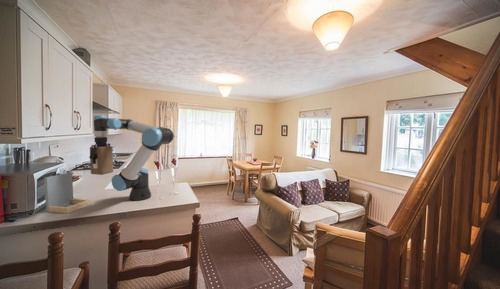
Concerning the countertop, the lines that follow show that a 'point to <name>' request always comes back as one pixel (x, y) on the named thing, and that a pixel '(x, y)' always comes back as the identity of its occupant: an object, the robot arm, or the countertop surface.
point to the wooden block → (103, 160)
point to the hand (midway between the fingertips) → (102, 166)
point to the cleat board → (61, 194)
